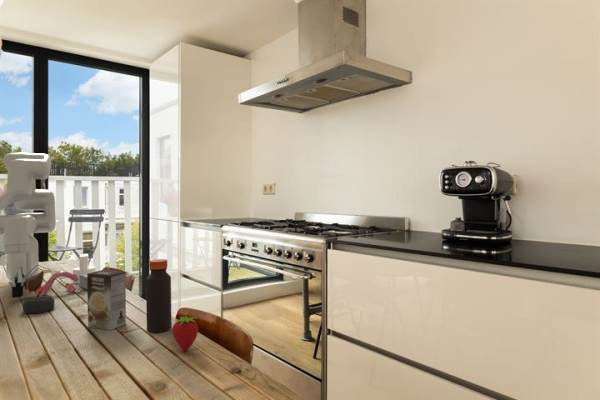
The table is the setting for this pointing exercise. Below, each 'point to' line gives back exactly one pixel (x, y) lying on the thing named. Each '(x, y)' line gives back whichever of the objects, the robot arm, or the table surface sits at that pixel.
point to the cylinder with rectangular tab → (83, 266)
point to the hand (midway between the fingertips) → (17, 296)
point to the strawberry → (185, 332)
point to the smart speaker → (38, 305)
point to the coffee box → (106, 299)
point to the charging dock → (83, 281)
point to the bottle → (158, 297)
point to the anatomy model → (36, 281)
